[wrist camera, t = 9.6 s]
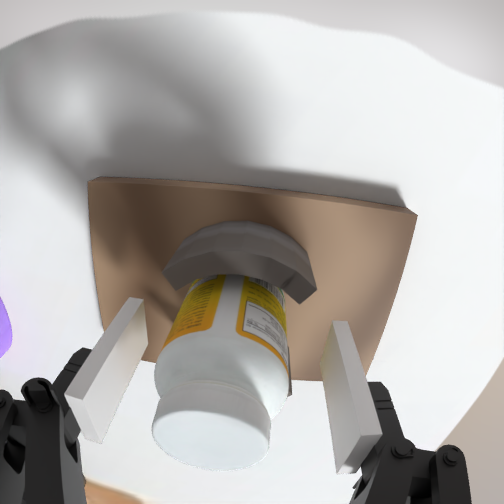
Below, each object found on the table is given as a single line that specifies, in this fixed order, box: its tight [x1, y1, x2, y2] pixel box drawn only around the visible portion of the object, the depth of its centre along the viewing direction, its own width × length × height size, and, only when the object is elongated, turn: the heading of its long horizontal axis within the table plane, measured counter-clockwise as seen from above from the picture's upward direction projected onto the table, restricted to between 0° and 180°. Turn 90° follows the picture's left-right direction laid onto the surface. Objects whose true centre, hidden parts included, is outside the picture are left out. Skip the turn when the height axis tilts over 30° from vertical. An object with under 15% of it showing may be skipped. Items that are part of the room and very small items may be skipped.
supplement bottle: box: [152, 274, 289, 471], centre depth 14 cm, size 5×5×10 cm
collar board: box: [88, 177, 418, 397], centre depth 17 cm, size 18×12×6 cm, turn 85°
